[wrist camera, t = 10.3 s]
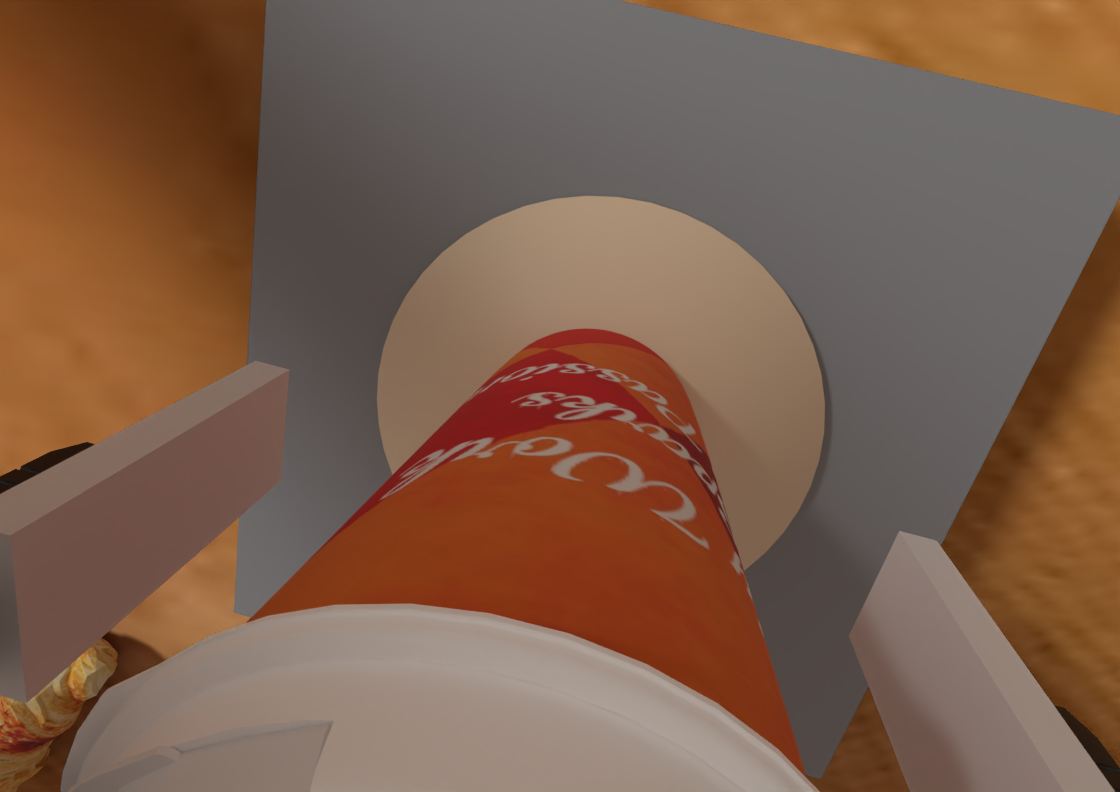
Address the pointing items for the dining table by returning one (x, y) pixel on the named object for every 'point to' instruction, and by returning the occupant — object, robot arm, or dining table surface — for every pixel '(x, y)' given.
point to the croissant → (49, 714)
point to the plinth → (662, 270)
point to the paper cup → (490, 620)
